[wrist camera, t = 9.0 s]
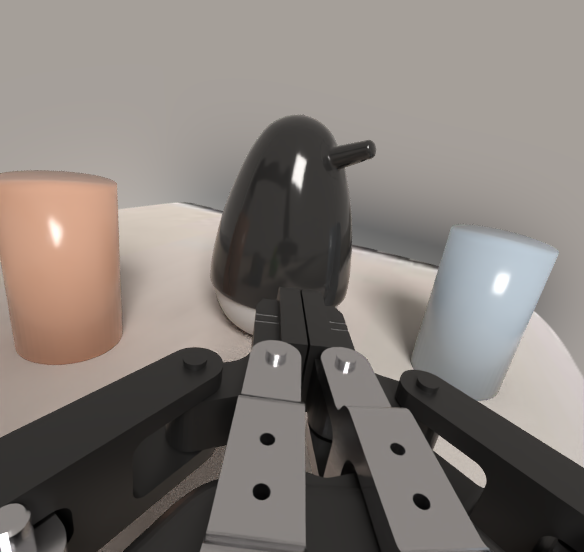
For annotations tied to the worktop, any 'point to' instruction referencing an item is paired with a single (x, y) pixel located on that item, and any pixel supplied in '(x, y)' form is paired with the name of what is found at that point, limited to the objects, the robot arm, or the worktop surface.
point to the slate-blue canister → (481, 306)
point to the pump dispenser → (287, 219)
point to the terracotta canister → (61, 264)
